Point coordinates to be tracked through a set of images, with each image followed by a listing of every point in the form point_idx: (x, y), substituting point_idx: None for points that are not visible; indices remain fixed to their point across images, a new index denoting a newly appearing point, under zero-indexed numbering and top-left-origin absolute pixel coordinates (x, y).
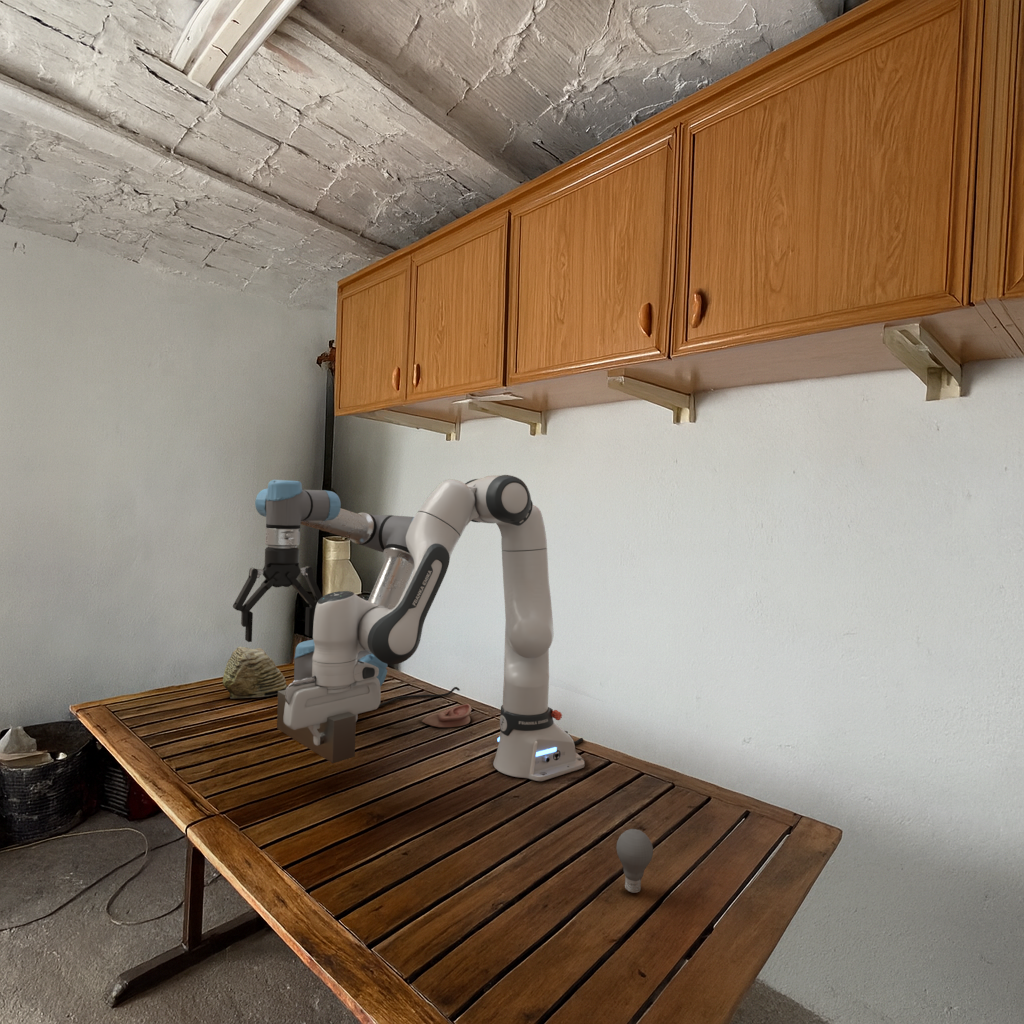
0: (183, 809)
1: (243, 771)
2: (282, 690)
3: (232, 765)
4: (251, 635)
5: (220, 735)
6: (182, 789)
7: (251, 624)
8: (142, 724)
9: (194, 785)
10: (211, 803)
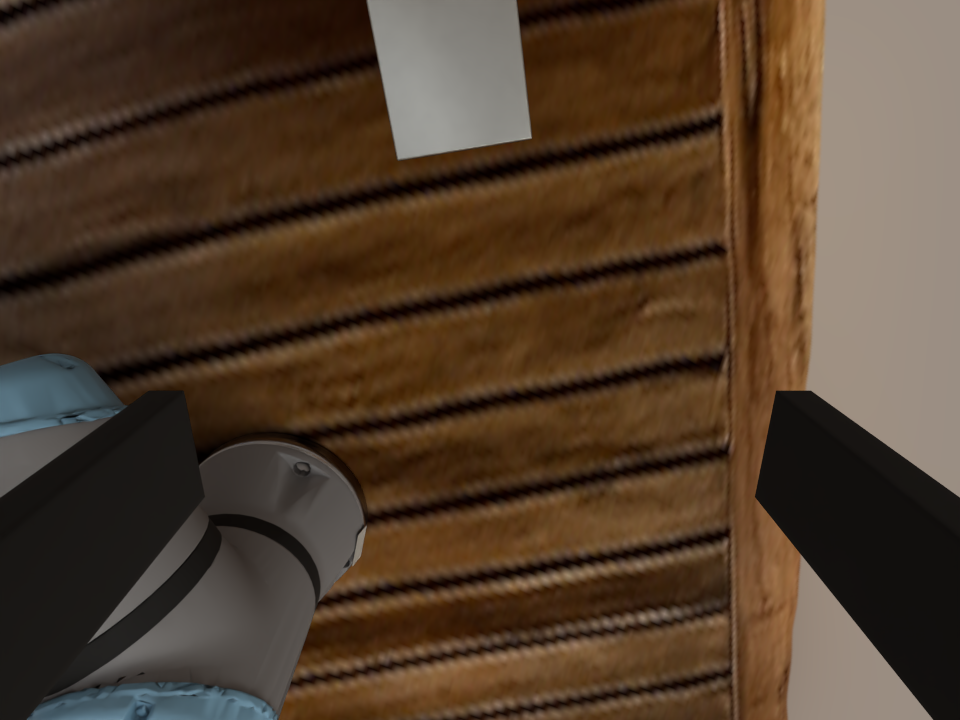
0: (796, 70)
1: (570, 253)
2: (504, 138)
3: (584, 313)
4: (817, 420)
5: (551, 535)
6: (752, 216)
7: (916, 494)
8: (699, 684)
9: (717, 226)
10: (719, 67)
